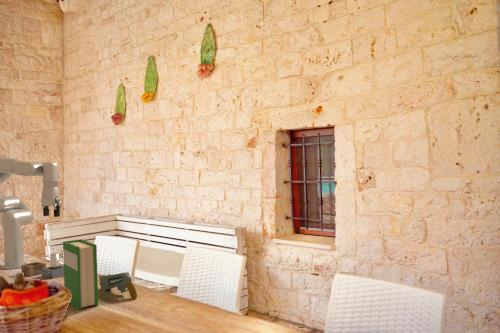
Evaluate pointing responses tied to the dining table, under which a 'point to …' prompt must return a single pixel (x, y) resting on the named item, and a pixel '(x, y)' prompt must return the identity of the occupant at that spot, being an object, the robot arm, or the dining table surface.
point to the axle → (54, 261)
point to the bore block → (33, 268)
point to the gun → (118, 283)
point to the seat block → (53, 272)
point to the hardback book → (81, 272)
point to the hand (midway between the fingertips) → (51, 216)
